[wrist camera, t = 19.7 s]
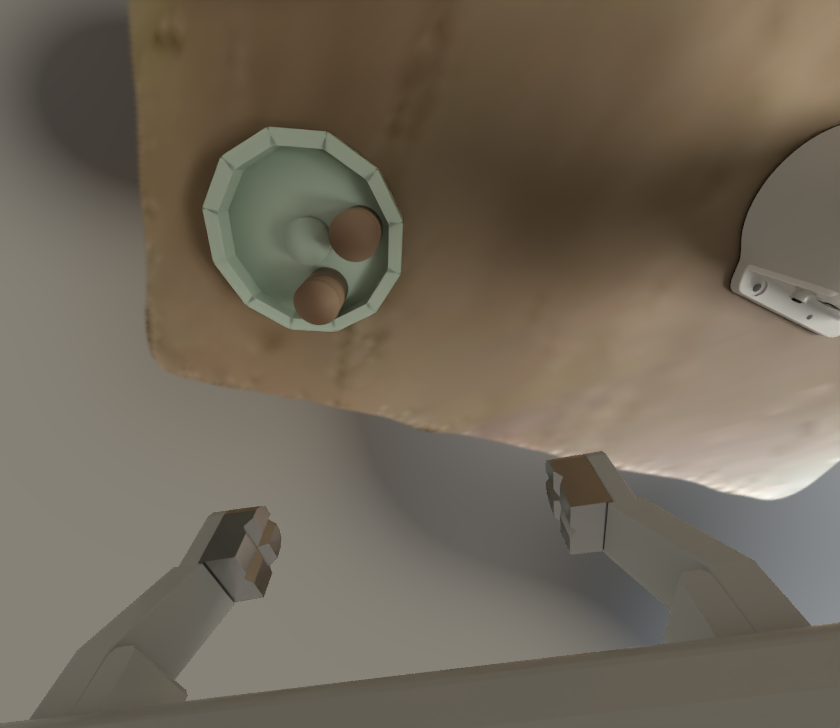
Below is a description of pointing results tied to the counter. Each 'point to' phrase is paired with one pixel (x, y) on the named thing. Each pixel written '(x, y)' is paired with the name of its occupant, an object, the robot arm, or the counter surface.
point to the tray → (298, 223)
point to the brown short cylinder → (321, 296)
